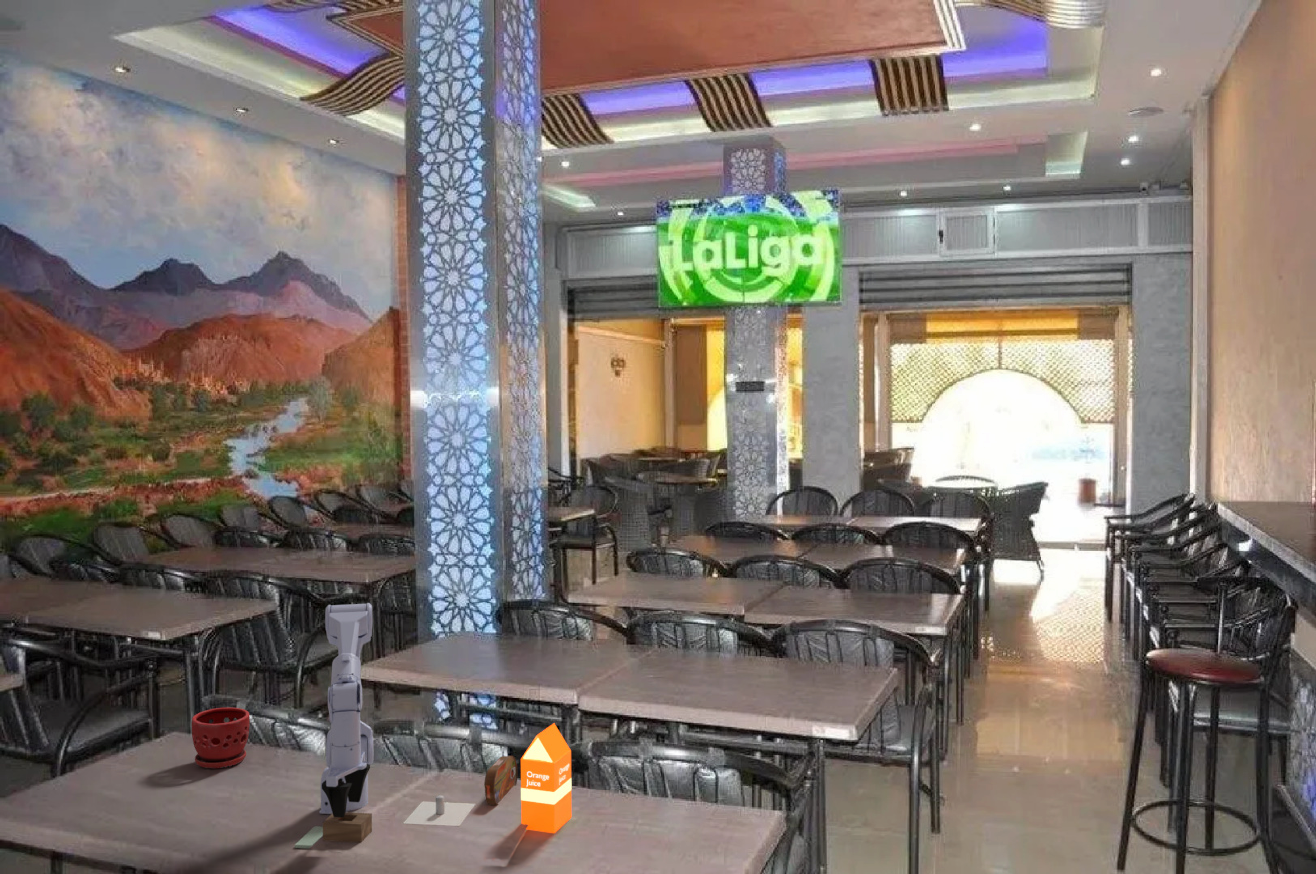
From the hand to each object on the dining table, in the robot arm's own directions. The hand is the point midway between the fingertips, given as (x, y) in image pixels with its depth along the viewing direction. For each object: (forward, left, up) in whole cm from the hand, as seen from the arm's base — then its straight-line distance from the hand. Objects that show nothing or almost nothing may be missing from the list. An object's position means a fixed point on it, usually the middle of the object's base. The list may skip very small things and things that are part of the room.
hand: (346, 809), depth 214 cm
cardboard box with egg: (0, 0, -6) cm, 6 cm away
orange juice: (+38, +13, -7) cm, 41 cm away
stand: (+15, +13, -6) cm, 21 cm away
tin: (+25, +25, -7) cm, 36 cm away
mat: (0, 0, -6) cm, 6 cm away
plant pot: (-49, +40, -7) cm, 64 cm away
